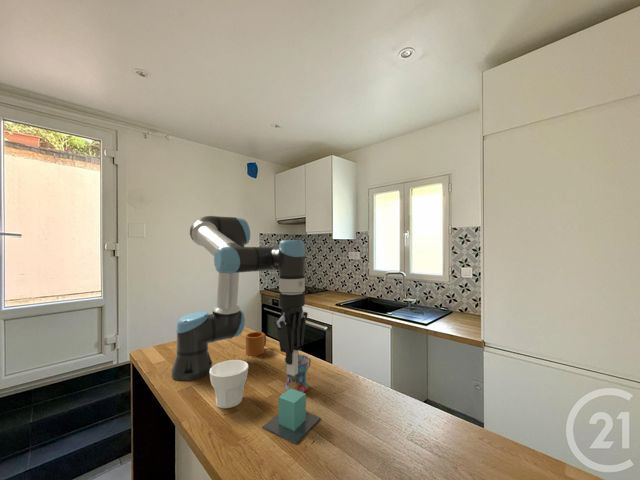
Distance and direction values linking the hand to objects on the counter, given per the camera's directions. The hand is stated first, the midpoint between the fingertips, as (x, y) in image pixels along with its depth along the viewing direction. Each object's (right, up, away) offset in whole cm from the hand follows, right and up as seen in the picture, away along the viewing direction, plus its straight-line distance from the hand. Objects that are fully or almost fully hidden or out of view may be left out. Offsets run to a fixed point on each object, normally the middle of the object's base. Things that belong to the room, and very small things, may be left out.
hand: (292, 373), depth 78 cm
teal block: (0, -14, 0) cm, 14 cm away
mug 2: (+1, -15, +19) cm, 25 cm away
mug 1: (-22, -16, +52) cm, 59 cm away
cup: (-22, -15, +11) cm, 29 cm away
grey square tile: (0, -14, 0) cm, 14 cm away
